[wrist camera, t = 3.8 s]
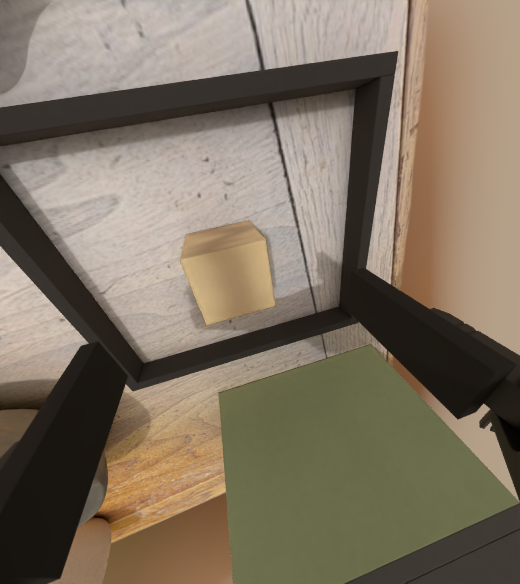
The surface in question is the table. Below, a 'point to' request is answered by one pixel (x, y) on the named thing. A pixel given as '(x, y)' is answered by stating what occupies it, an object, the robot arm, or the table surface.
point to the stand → (342, 473)
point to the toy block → (228, 271)
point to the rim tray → (184, 102)
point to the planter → (88, 554)
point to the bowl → (10, 428)
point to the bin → (461, 557)
